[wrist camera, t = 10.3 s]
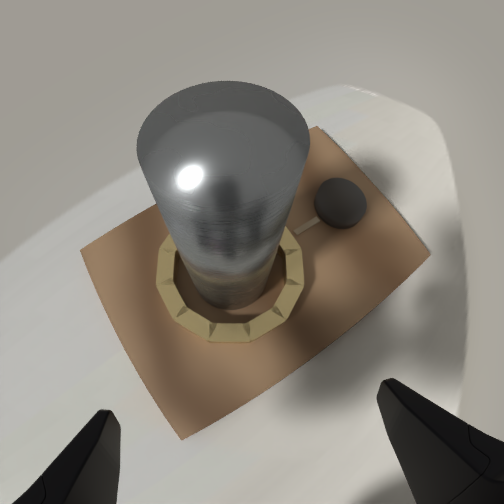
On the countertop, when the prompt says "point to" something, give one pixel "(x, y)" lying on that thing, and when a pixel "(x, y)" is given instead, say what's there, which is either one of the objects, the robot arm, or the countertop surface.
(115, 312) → the board
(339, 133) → the countertop surface
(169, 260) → the brass ring
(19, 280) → the countertop surface
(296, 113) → the steel peg
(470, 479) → the robot arm
